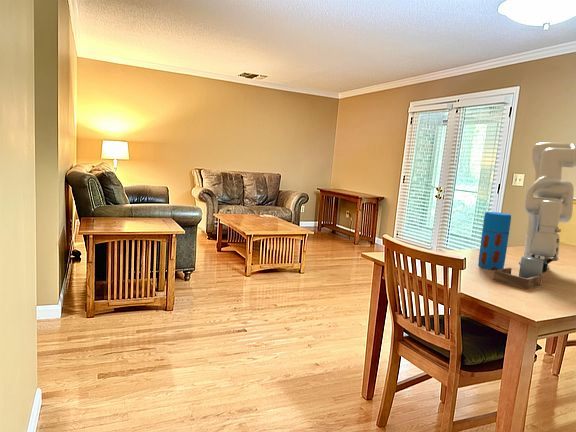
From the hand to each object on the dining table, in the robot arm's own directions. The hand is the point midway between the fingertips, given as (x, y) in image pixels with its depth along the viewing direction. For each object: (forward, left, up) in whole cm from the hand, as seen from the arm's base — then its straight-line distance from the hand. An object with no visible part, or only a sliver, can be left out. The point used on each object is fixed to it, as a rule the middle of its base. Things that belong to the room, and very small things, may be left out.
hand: (540, 271), depth 176 cm
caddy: (+19, 0, -3) cm, 19 cm away
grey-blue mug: (+6, 0, -3) cm, 7 cm away
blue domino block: (+4, -19, -3) cm, 20 cm away
